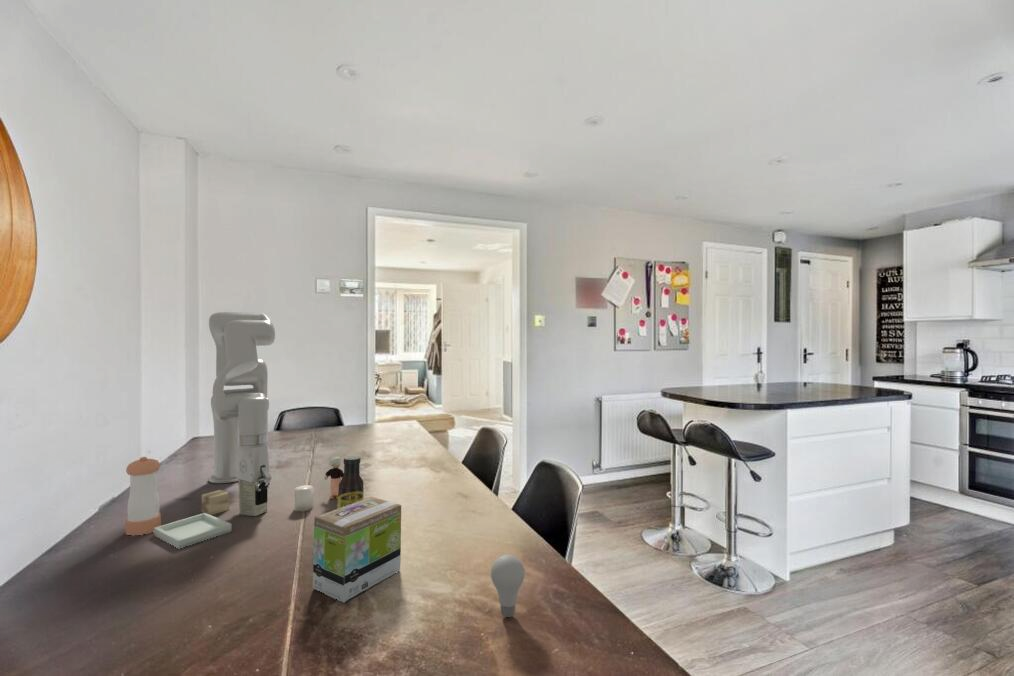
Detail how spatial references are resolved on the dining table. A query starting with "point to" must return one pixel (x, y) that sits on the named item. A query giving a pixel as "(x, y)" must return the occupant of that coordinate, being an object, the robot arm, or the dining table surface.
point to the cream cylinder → (303, 498)
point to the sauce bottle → (350, 483)
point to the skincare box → (249, 499)
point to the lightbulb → (507, 581)
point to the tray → (192, 530)
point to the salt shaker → (143, 497)
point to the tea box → (356, 547)
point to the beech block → (215, 502)
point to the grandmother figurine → (334, 476)
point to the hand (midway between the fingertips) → (253, 500)
